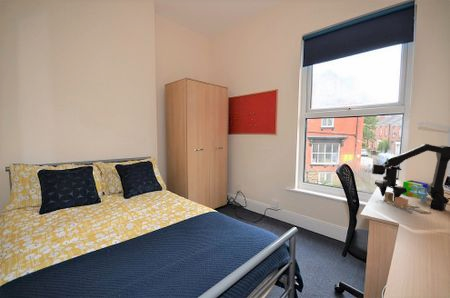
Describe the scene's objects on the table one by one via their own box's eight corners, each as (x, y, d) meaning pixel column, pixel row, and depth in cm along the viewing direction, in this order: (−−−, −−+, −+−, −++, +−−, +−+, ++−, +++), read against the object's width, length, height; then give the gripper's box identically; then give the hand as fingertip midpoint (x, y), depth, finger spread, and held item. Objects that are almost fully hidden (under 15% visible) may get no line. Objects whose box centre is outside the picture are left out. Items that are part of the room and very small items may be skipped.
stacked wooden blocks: (390, 200, 138) (390, 192, 137) (409, 208, 124) (410, 199, 124) (383, 200, 137) (384, 192, 137) (402, 208, 124) (403, 199, 123)
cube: (400, 203, 130) (401, 197, 129) (407, 206, 125) (408, 199, 125) (394, 203, 129) (395, 197, 129) (400, 206, 125) (401, 199, 124)
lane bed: (399, 201, 138) (399, 199, 138) (431, 214, 118) (431, 211, 118) (381, 202, 137) (381, 199, 137) (410, 215, 118) (410, 212, 117)
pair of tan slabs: (411, 205, 129) (411, 204, 129) (429, 213, 118) (429, 211, 118) (404, 205, 129) (404, 204, 129) (421, 213, 118) (422, 211, 118)
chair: (429, 205, 133) (431, 187, 132) (414, 204, 135) (416, 186, 133) (420, 201, 141) (422, 184, 139) (406, 199, 142) (408, 183, 141)
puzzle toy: (426, 197, 148) (428, 183, 147) (418, 198, 145) (420, 185, 144) (409, 192, 158) (411, 180, 156) (402, 194, 154) (403, 181, 153)
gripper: (368, 172, 143) (366, 194, 145) (391, 179, 124) (389, 204, 126) (383, 172, 144) (381, 193, 145) (408, 179, 125) (406, 203, 127)
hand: (388, 198), depth 136 cm, fingers open, 9 cm apart
